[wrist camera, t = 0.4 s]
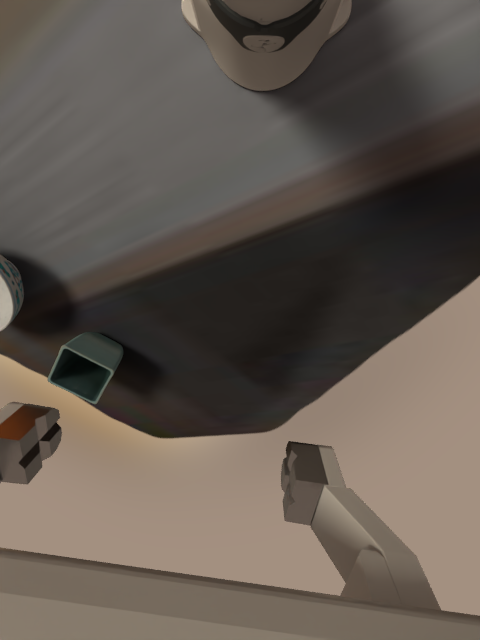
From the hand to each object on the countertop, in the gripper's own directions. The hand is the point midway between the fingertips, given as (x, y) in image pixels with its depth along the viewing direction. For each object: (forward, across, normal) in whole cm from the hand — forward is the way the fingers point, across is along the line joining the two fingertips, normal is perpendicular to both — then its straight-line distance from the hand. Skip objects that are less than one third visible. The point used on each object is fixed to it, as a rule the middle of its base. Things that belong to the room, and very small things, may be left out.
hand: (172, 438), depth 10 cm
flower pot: (+41, +23, +20) cm, 51 cm away
